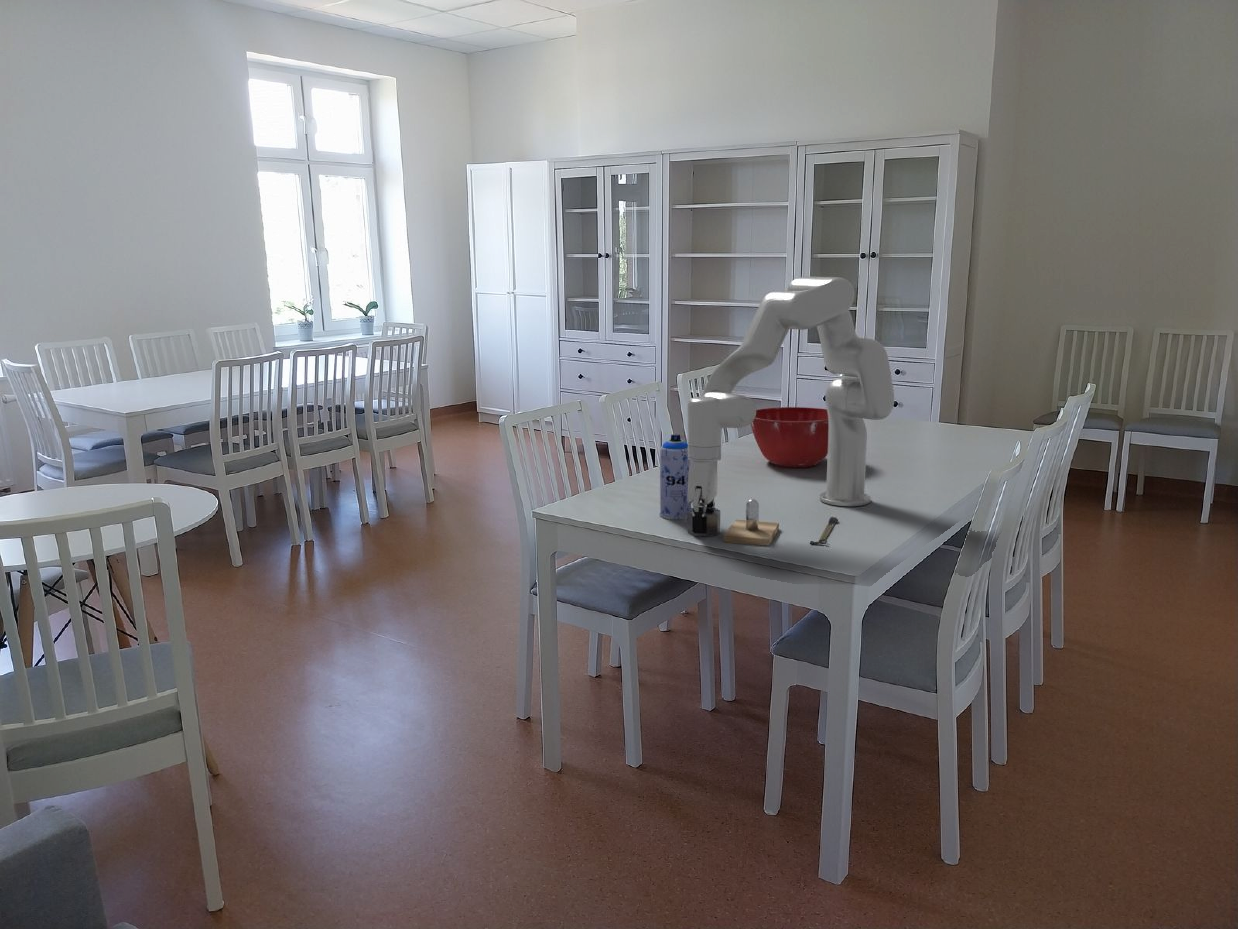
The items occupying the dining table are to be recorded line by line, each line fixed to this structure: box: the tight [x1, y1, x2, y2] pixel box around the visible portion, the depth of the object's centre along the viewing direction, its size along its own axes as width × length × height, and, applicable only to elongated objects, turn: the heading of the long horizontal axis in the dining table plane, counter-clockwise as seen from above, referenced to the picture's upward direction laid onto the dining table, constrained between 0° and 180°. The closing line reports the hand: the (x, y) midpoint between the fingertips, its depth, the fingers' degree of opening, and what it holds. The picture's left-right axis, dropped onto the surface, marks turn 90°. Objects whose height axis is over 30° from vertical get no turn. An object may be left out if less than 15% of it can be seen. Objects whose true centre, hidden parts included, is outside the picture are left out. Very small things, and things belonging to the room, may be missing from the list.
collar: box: [686, 506, 721, 538], centre depth 208 cm, size 7×7×5 cm
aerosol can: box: [659, 434, 692, 520], centre depth 221 cm, size 8×8×20 cm
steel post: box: [745, 498, 760, 531], centre depth 204 cm, size 3×3×7 cm
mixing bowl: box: [749, 406, 828, 468], centre depth 276 cm, size 28×28×16 cm
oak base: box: [723, 519, 780, 547], centre depth 205 cm, size 13×10×2 cm
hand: (703, 527), depth 208 cm, fingers closed on collar, 7 cm apart
